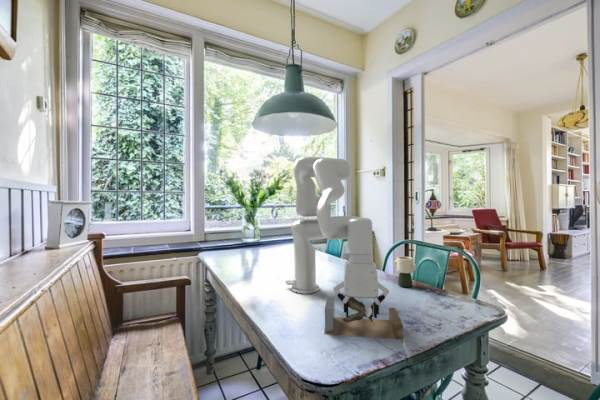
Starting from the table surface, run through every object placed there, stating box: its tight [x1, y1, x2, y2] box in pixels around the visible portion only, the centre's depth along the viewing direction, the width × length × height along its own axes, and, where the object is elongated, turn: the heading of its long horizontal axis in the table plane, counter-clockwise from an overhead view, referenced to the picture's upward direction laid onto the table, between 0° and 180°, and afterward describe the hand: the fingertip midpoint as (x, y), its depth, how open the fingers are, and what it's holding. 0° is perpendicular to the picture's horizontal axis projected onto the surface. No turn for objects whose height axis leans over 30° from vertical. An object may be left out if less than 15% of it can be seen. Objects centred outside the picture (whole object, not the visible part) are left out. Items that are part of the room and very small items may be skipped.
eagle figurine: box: [343, 297, 375, 323], centre depth 84 cm, size 8×7×9 cm
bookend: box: [324, 296, 336, 333], centre depth 86 cm, size 2×10×7 cm, turn 170°
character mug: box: [394, 256, 417, 287], centre depth 127 cm, size 11×7×13 cm, turn 35°
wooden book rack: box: [323, 307, 404, 344], centre depth 84 cm, size 22×12×6 cm, turn 80°
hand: (361, 315), depth 84 cm, fingers closed on eagle figurine, 7 cm apart
